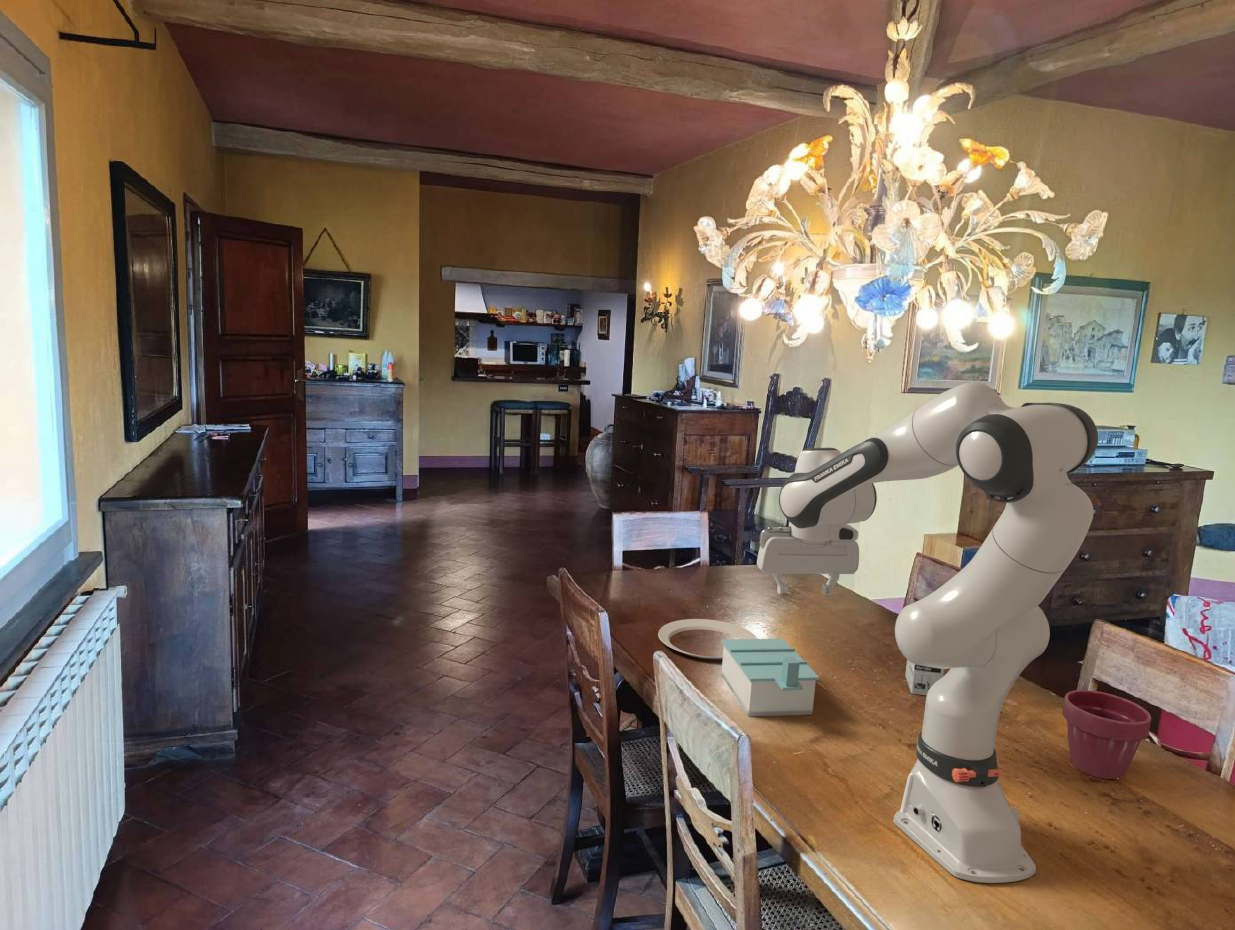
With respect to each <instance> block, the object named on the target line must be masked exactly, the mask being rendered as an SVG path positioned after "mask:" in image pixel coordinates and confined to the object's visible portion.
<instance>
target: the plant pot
mask: <svg viewBox="0 0 1235 930" xmlns="http://www.w3.org/2000/svg"><path fill="white" fill-rule="evenodd" d="M1151 715H1152V714H1150V712H1149V711H1148V710H1147V709H1145V708H1144V707H1142V706H1141V705H1139V704H1138V703H1135V702H1133V701H1131V700H1129V699H1126V698H1124V697H1122V696H1118V695H1114V694H1111V693H1107V692H1102V691H1097V690H1089V689H1078V690H1075V689H1074V690H1072V691H1069V692H1067V693H1066V694H1065V695H1064V700H1063V705H1062V716H1063V718H1064V719H1065V720H1066V726H1067V739H1068V749H1069V758H1070V763H1071V764H1072V765H1073V766H1074V767H1075V768H1076V769H1078V770H1079V769H1080V770H1079V771H1081V772H1082V771H1083V773H1084V772H1085V773H1084V774H1087V775H1089V774H1090V775H1089V776H1092V777H1094V778H1098V777H1100V778H1099V779H1102V778H1105V779H1104V780H1108V779H1117V778H1121V777H1123V776H1124V777H1125V774H1126V772H1127V771H1128V769H1129V767H1130V765H1131V762H1132V761H1133V758H1134V756H1135V755H1136V753H1137V750H1138V748H1139V746H1140V744H1141V742H1142V741H1143V740H1145V739H1147V738H1148V736H1149V733H1150V729H1151V723H1152V716H1151ZM1124 777H1123V778H1124ZM1121 779H1122V778H1121Z"/></svg>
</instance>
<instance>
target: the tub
mask: <svg viewBox="0 0 1235 930" xmlns="http://www.w3.org/2000/svg"><path fill="white" fill-rule="evenodd" d="M722 657H723V659H722V662H721V674H720V675H721V677H722V679H723V680H724V682H725V683H726V685H727V686H728V688H729V689H730V691H731V693H732V694H733V695H734V697H735V699H736V700H737V701H738V703H739V704H740V706H741V707H742V709H743V711H744V712H745V713H746V714H747V716H748V717H776V716H777V717H778V716H779V717H780V716H781V717H782V716H783V717H784V716H809V715H810V716H811V715H812V716H813V710H814V703H815V702H814V701H815V690H816V681H817V680H803V681H798V682H799V683H800V684H801V685H802V686H803V690H787V691H782V690H781V688H780V687H779V686H778V685H777V683H776V682H775V681H757V682H750V681H749V679H748V678H747V677H746V675H745V674H744V672H743V671H742V670H741V668H740V667H739V666H738V664H737V663H736V661H735V660H734V659H733V657H732V656H731V655H730V653H729V652H728V651H727V649H726V648H725V646H724V645H723V650H722Z"/></svg>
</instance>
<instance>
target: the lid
mask: <svg viewBox="0 0 1235 930" xmlns="http://www.w3.org/2000/svg"><path fill="white" fill-rule="evenodd" d="M720 641H721V644H722V645H723V647H724V646H725V648H726V649H727V651H728V652H729V653H730V655H731V656H732V657H733V659H734V660H735V661H736V663H737V664H738V666H739V667H740V668H741V670H742V671H743V672H744V674H745V675H746V677H747V678H748V679H749V681H750V682H757V681H775V682H776V683H777V685H778V686H779V687H780V688H781V690H782V691H787V690H803V686H802V685H801V684H800V683H799V682H798V681H803V680H816V681H819V680H820V676H819V675H817V673H816V672H815V671H814V670H813V669H812V668H811V667H810V666H809V665H808V661H807V660H804V659H803V658H802V657H801V656H800V655H799V654H798V653H797V652H796V648H794V647H792V646H790V644H789V643H788V642H787V641H786V640H785V639H784V638H757V639H739V638H737V639H734V638H733V639H727V638H726V639H721V640H720Z"/></svg>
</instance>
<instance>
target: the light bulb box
mask: <svg viewBox="0 0 1235 930" xmlns="http://www.w3.org/2000/svg"><path fill="white" fill-rule="evenodd" d="M943 676H945V669H939V668H932V667H926V666H920V665H915V664H913V663H911V662H910V661H908V660H907V659H906V667H905V674H904V677H905V680H906V682H907V685H908V688H909V691H910V693H911V694H912V695H921V696H925V697H926V696H927V693H928V691H929V689H930V688H931V686H932V685H933V684H934V683H935V682H937V681H938V680H939V679H941V678H942V677H943Z"/></svg>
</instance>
